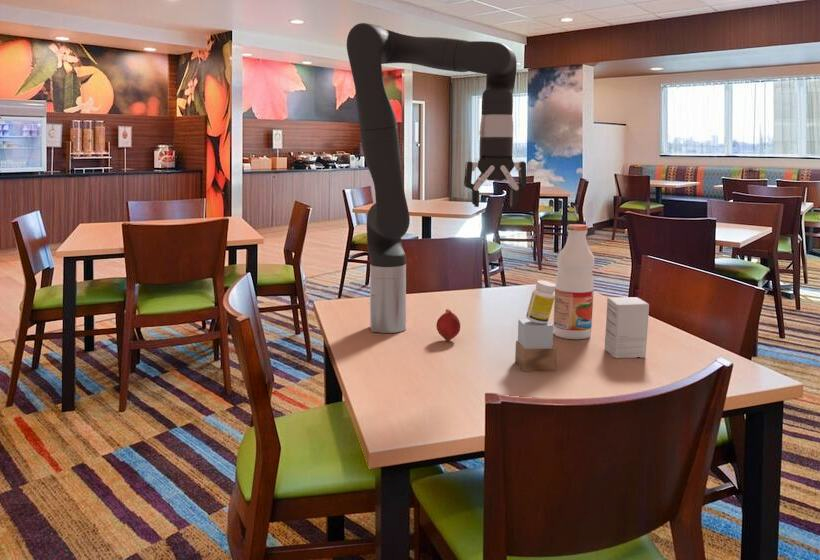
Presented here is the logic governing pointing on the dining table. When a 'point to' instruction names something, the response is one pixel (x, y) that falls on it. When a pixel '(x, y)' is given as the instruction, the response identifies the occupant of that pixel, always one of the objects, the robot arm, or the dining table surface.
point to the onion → (448, 325)
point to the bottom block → (535, 359)
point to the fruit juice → (574, 286)
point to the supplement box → (626, 327)
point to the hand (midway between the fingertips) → (494, 206)
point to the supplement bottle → (541, 302)
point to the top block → (535, 334)
